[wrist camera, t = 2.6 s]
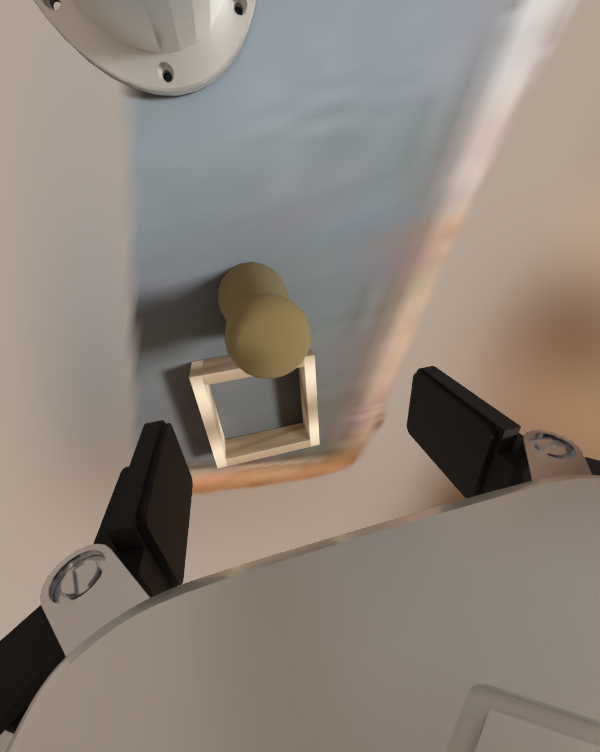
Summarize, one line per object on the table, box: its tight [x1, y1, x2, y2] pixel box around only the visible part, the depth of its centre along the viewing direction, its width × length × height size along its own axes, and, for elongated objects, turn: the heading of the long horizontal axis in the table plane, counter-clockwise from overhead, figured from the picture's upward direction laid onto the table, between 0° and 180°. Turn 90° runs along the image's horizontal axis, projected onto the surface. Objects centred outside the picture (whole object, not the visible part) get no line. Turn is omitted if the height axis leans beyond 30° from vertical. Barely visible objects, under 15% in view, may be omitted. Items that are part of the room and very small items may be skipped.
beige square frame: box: [189, 347, 319, 468], centre depth 29 cm, size 11×11×3 cm
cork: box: [217, 262, 311, 379], centre depth 21 cm, size 6×6×11 cm
